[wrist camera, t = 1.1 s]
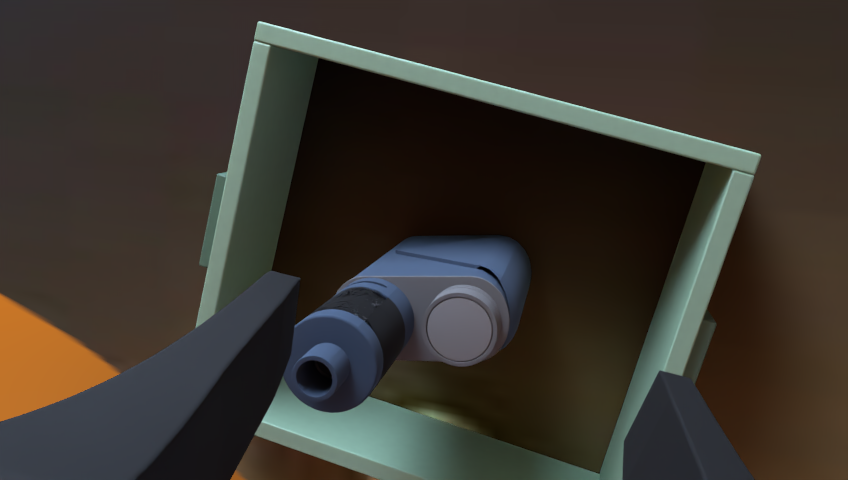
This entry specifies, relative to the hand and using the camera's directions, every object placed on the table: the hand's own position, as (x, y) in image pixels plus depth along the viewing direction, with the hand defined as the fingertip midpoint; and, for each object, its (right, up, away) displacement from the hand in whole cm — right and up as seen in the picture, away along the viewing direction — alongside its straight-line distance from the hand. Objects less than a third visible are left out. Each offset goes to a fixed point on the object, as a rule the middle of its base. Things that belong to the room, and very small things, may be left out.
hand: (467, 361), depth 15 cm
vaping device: (+1, +1, +13) cm, 13 cm away
